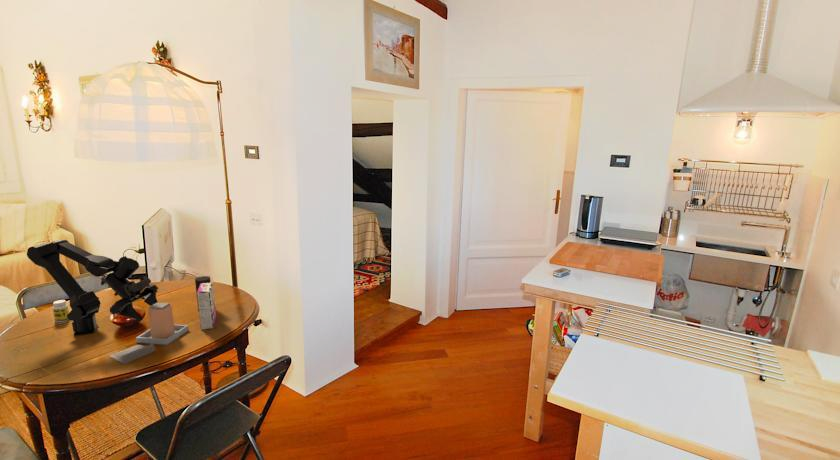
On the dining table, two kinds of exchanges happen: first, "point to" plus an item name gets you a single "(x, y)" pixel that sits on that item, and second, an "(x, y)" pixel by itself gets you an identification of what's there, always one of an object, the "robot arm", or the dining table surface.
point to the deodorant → (201, 280)
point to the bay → (133, 353)
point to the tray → (149, 340)
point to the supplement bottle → (60, 311)
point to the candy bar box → (206, 305)
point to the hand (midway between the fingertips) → (151, 314)
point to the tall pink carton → (161, 320)
